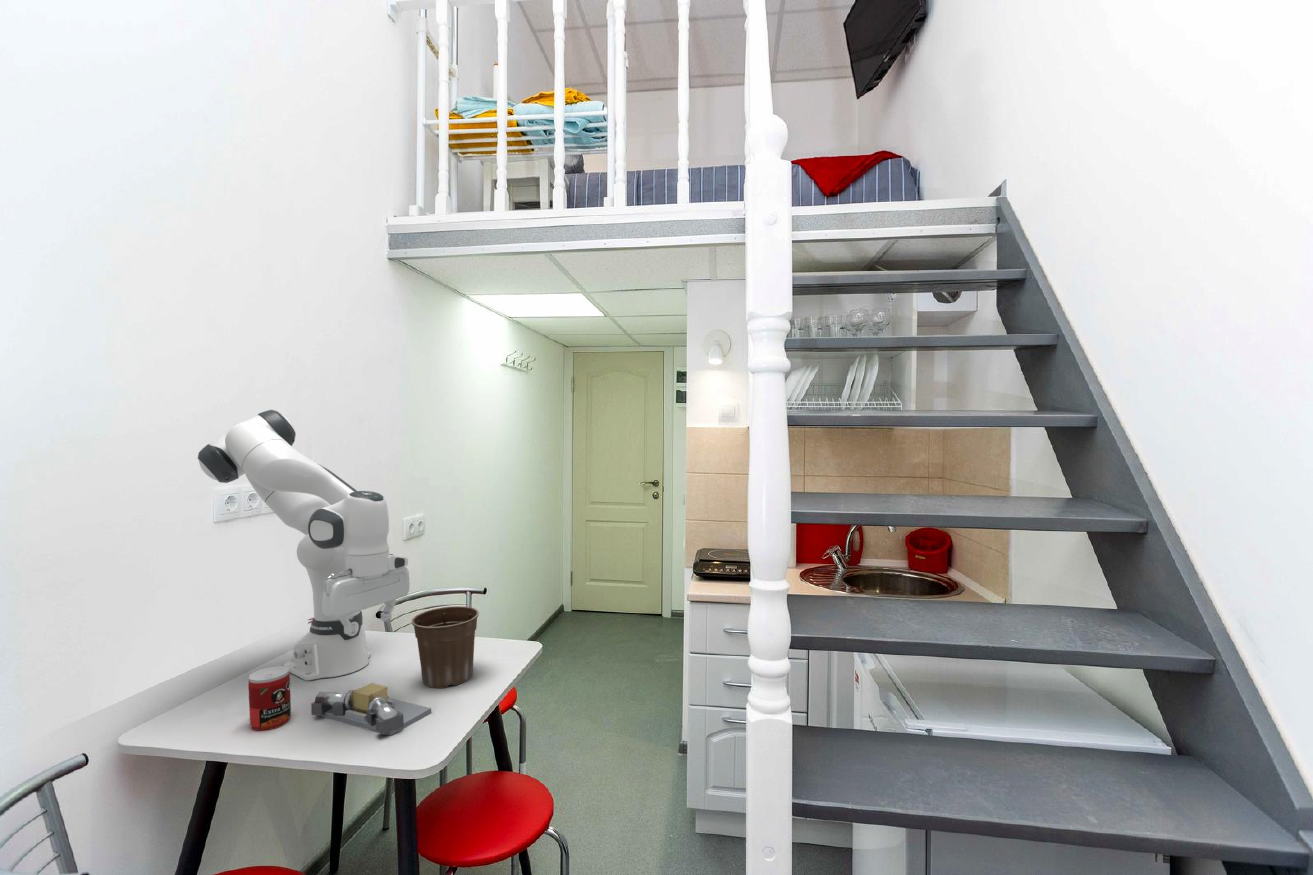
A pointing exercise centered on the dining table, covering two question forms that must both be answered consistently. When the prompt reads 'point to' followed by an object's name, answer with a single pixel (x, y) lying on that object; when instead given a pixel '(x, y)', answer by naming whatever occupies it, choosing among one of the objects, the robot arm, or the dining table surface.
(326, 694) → the shaft
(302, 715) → the dining table surface
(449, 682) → the plant pot
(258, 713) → the canned food
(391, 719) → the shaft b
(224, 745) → the dining table surface
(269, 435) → the robot arm
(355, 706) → the golden yellow cube
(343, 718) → the grey base plate
